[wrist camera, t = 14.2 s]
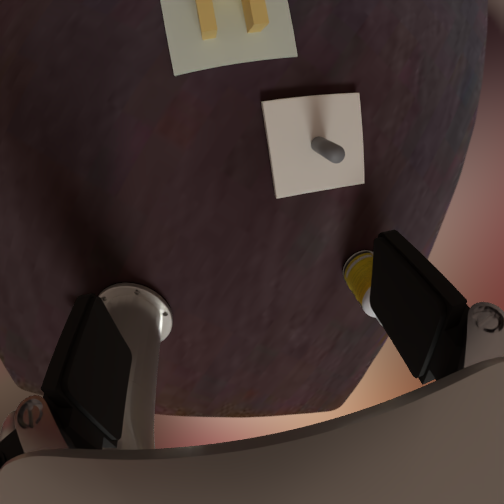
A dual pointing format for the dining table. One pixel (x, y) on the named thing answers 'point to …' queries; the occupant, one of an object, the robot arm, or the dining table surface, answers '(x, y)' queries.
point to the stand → (314, 142)
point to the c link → (252, 12)
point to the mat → (225, 35)
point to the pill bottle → (360, 278)
